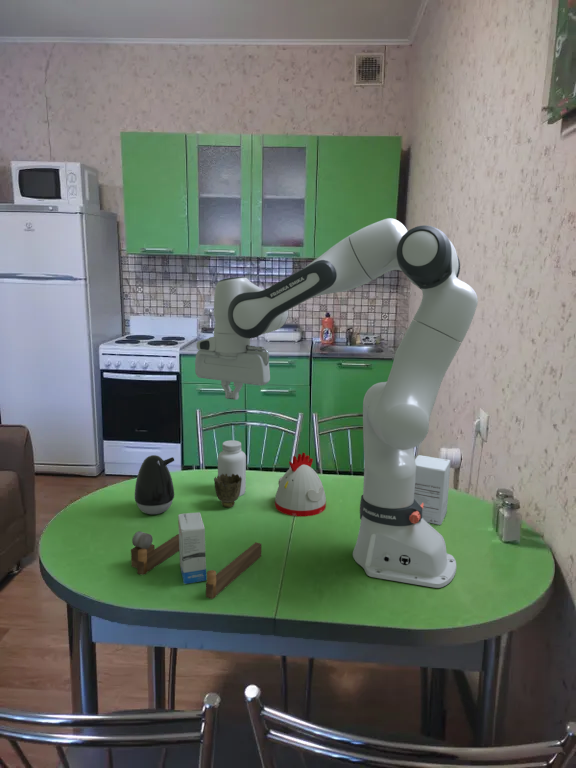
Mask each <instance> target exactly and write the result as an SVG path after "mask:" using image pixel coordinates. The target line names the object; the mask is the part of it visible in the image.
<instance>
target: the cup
mask: <svg viewBox="0 0 576 768" xmlns="http://www.w3.org/2000/svg"><path fill="white" fill-rule="evenodd" d="M213 481H214V488H215V489H214V490H215V494H216V497H217V499H218V500H219V501H220V502H221V504H220V505H221V506H222V507H224V508H232V507H234V506H235V504H236V502H235V501H237V500H238V499H239V498H240V496H239V495H240V489H241V481H242V478H241V476H240V478H239V475H238V474H237V475H234V474H232V476H229V477H228V476H227V474H225V475H224V474H221V475H220V477H219V475H218V474H217V476H215V477H214V478H213Z"/></svg>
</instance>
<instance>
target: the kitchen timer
mask: <svg viewBox="0 0 576 768" xmlns="http://www.w3.org/2000/svg"><path fill="white" fill-rule="evenodd" d="M313 461H314V458H312V457H310V455H308V454H306V453H305V452H302V454H301V453H298V454H297V456H295V455H293V456H292V462H291V461H288V463H289V466H290V468H289V469H287V471H286V472H285V473H284V474H283V475H282V476H280V477H279V478H278V481H277V482H278V487H277V490H276V493H275V497H274V507H275V509H276V510H277V511H278V512H279V513H280V512H281V513H282V514H285V515H287V516H292V517H312V516H316V515H319V514H321V513H323V512H324V511H325V510H326V508H327V498H326V492H325V488H324V486H323V482H322V480H321V478H320V477H319V475H318V474H317V472H316V471H315V470H314V469H313V468H312V465H313Z"/></svg>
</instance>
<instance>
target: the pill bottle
mask: <svg viewBox="0 0 576 768" xmlns="http://www.w3.org/2000/svg"><path fill="white" fill-rule="evenodd" d="M246 468H247V455H246V453H245V452H244V451H243V450H242V442H241V441H239V440H235V439H234V440H231V439H230V440H225V441H223V442H222V451H220V452H219V454H218V456H217V476H218V475H219V477H220V475H221V474H224V475H225V474H227V476H228V477H229V476H232V474H234V475H237V474H238V475H239V478H240V476H241V478H242V481H241V489H240V495H239V497H241V496H243V495H244V494H246V488H247V487H246V483H247V482H246V481H247V480H246V478H247V477H246V476H247V474H246V473H247V469H246Z"/></svg>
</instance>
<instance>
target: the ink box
mask: <svg viewBox="0 0 576 768" xmlns="http://www.w3.org/2000/svg"><path fill="white" fill-rule="evenodd" d="M177 516H178V517H177V518H178V520H177V521H178V534H179V551H178V552H179V566H180V573H181V576H182V580H183V584H184V585H187V584H193V583H198V582H204V581H206V582H207V561H206V560H207V559H206V528H205V525H204V521H203V519H202V518H203V517H202V515H201V512H199V511H198V512H187V513H180V514H179V513H178V515H177Z"/></svg>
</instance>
